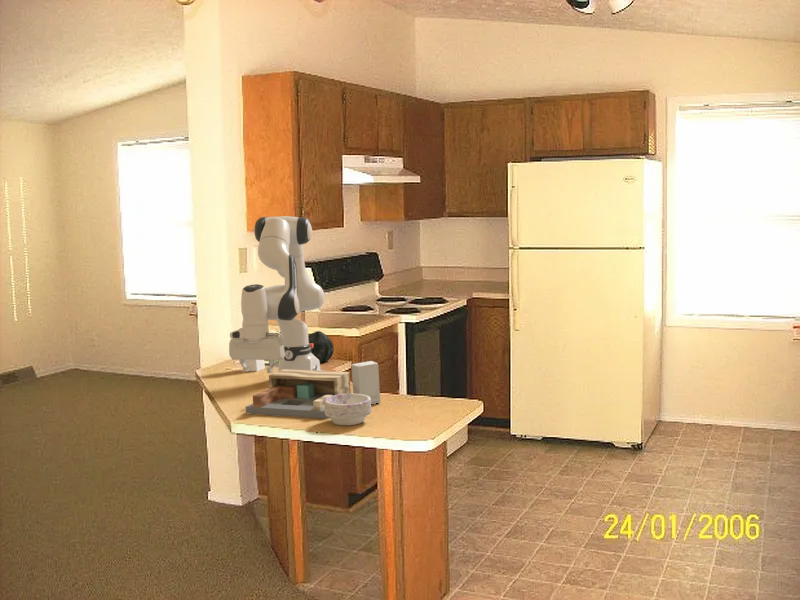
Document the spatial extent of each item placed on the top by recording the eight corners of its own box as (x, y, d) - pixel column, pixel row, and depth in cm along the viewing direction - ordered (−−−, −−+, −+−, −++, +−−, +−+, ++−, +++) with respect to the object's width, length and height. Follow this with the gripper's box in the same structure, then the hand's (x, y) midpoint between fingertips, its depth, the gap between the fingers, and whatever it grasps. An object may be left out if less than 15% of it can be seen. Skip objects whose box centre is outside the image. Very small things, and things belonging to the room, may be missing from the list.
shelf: (284, 390, 321) (283, 369, 320) (350, 393, 311) (349, 371, 310) (269, 397, 311) (268, 375, 310) (337, 400, 301) (336, 378, 300)
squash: (307, 345, 401) (301, 325, 390) (338, 346, 398) (333, 326, 387) (301, 370, 392) (294, 350, 380) (333, 371, 389) (327, 351, 378)
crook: (276, 396, 311) (275, 385, 311) (295, 397, 308) (295, 386, 308) (253, 407, 296) (252, 395, 296) (273, 408, 293) (272, 396, 293)
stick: (326, 403, 298) (326, 394, 298) (333, 403, 297) (332, 394, 297) (313, 409, 289) (313, 401, 289) (320, 410, 288) (319, 401, 288)
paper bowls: (358, 430, 271) (357, 405, 270) (316, 426, 278) (315, 402, 277) (380, 418, 285) (379, 394, 284) (339, 414, 291) (338, 391, 290)
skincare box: (373, 400, 309) (372, 360, 308) (381, 404, 304) (379, 362, 302) (352, 404, 306) (350, 363, 304) (359, 407, 300) (357, 365, 299)
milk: (256, 371, 372) (253, 321, 370) (245, 370, 375) (242, 320, 372) (265, 368, 378) (262, 319, 375) (253, 368, 380) (250, 318, 378)
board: (282, 396, 322) (282, 390, 321) (358, 400, 310) (358, 394, 310) (246, 413, 298) (245, 406, 297) (326, 418, 286) (326, 411, 286)
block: (303, 395, 312) (302, 382, 311) (314, 395, 310) (313, 383, 310) (297, 397, 308) (296, 385, 307) (308, 398, 306) (307, 386, 306)
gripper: (287, 331, 294) (289, 371, 295) (235, 330, 301) (237, 369, 303) (277, 334, 288) (280, 375, 289) (225, 333, 295) (227, 373, 297)
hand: (258, 372), depth 296 cm, fingers open, 8 cm apart
